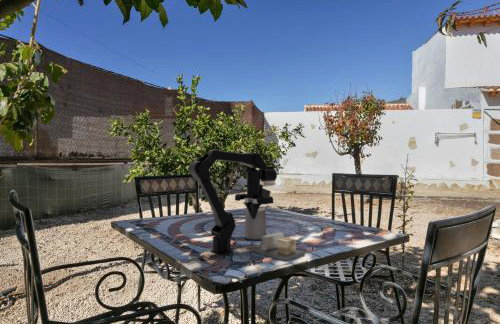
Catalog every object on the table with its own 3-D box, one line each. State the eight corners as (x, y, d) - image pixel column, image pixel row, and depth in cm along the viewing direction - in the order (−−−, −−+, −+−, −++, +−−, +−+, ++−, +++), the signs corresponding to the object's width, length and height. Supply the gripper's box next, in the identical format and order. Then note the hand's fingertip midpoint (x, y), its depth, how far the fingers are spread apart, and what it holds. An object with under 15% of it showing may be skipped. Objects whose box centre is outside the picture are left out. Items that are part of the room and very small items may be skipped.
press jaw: (266, 250, 141) (266, 237, 141) (261, 248, 143) (261, 236, 143) (284, 245, 147) (284, 233, 147) (278, 244, 150) (278, 232, 150)
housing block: (286, 254, 136) (286, 241, 136) (277, 252, 140) (277, 239, 140) (295, 252, 139) (295, 239, 139) (286, 249, 143) (286, 237, 143)
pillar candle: (255, 234, 178) (255, 203, 177) (270, 237, 171) (269, 205, 170) (241, 237, 171) (240, 206, 171) (255, 241, 164) (255, 208, 164)
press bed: (285, 261, 133) (285, 256, 133) (245, 249, 150) (245, 245, 150) (304, 255, 140) (304, 251, 140) (264, 244, 157) (264, 240, 157)
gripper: (282, 182, 152) (282, 219, 152) (252, 180, 166) (253, 213, 166) (263, 184, 144) (263, 222, 145) (234, 181, 158) (234, 216, 159)
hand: (253, 218), depth 154 cm, fingers closed
